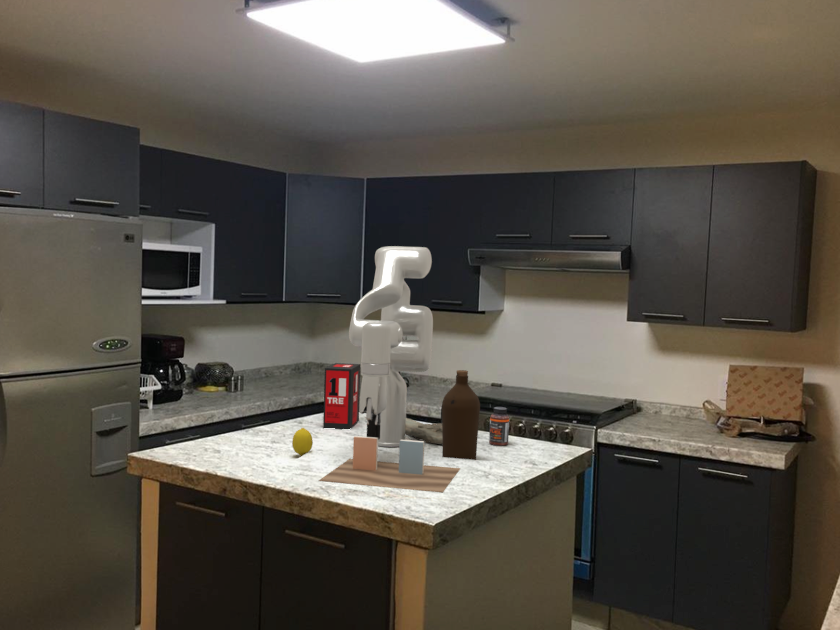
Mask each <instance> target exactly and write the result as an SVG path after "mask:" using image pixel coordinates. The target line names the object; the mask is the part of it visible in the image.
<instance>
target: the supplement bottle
mask: <svg viewBox="0 0 840 630" xmlns="http://www.w3.org/2000/svg"><path fill="white" fill-rule="evenodd" d="M507 409H508V408H506V407H503V406H495V407H493V413H492V414H491V415H490V416H489V417H490V418H489V437H488V442H489V444H490V445H491V446H499V447H504V446H507V445H508V444H509V434H510V416H509V415H508V413H507V411H508V410H507Z"/></svg>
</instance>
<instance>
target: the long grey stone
mask: <svg viewBox="0 0 840 630" xmlns="http://www.w3.org/2000/svg"><path fill="white" fill-rule="evenodd" d="M405 435H407V436H411V437H414V438H415V439H417V440H418V441H424V443H427V444H430V443H431V444H438V445H442V444H443V438H442V422H441V423H439V422H438V423H434V422H432V423H431V424H430V423H427V424H425V423H423V422H420V421H417V420H413V419H412V418H408V417H406V427H405Z"/></svg>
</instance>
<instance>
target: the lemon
mask: <svg viewBox="0 0 840 630" xmlns="http://www.w3.org/2000/svg"><path fill="white" fill-rule="evenodd" d="M313 440H314V439H313V437H312V433H311V431H309V430H308V429H306V428H304V427H301V428H300V429H297V431H295V433H294V434H293V437H292V440H291V441H292V448H293V450H294V452H295V453H296V454H298V455H299V456H300V457H303V456H304V455H307V454H308V453H310V451H311V450H312V448H313V443H314V442H313Z"/></svg>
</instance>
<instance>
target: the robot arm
mask: <svg viewBox="0 0 840 630" xmlns="http://www.w3.org/2000/svg"><path fill="white" fill-rule="evenodd" d="M432 260H433V259H432V254H431V251H430V249H429V248H428V247H425V246H423V247H422V246H403V245H402V246H399V245H397V246H396V245H394V246H392V245H391V246H388V245H387V246H381V247H380V248H378V249H376V251H375V254H374V263H375V273H374V279H373V285H372V289H371V290H369V291H367V293H366V294H365V295H364V296H362V297H361V298H360V299H359V300H358V302H357V303H356V304H355V306H354V307H353V310H352V314H351V319H350V323H349V328H348V329H349V331H348V337H349V338H348V339H349V341H350V343H351V344H352V346H354V347H356V348H361V363H360V376H362V378H361V383H360V397H359V414H361V415H363V414H365V413H366V415H365V420H366V437H375V438H378V447H386V448H387V447H388V448H393V447H394V448H395V447H398V448H399V445H400V440H411V439H410V438H409V437H407V436H406V434H405V427H406V418H407V398H408V397H407V396H408V395H407V394H408V393H407V390H408V387H407V383H406V380H405V379H404V378H403V376H402V375H401V374H400V373H399V372H414V373H415V372H416V373H423V372H426V371H429V369H430V367H431V364H432V352H433V351H432V349H433V333H434V331H433V330H434V329H433V328H434V318H433V312H432V311H431V309H430V308H429V307H427V306H425V305H413V304H411V303H410V302H411V289H410V287H409V286H408V284H407V283H406V281H405V279H424V278H425V277H426V276H427V275H428V274H429V273H430V271H431V268H432V263H433V261H432ZM378 310H381V313H380V314H381V315H380V320H377V319H365V318H366V317H367V316H368V315H370V314H371V313H374V312H376V311H378ZM403 337H413V338H414V337H415V338H416V340H414V339H403Z"/></svg>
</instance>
